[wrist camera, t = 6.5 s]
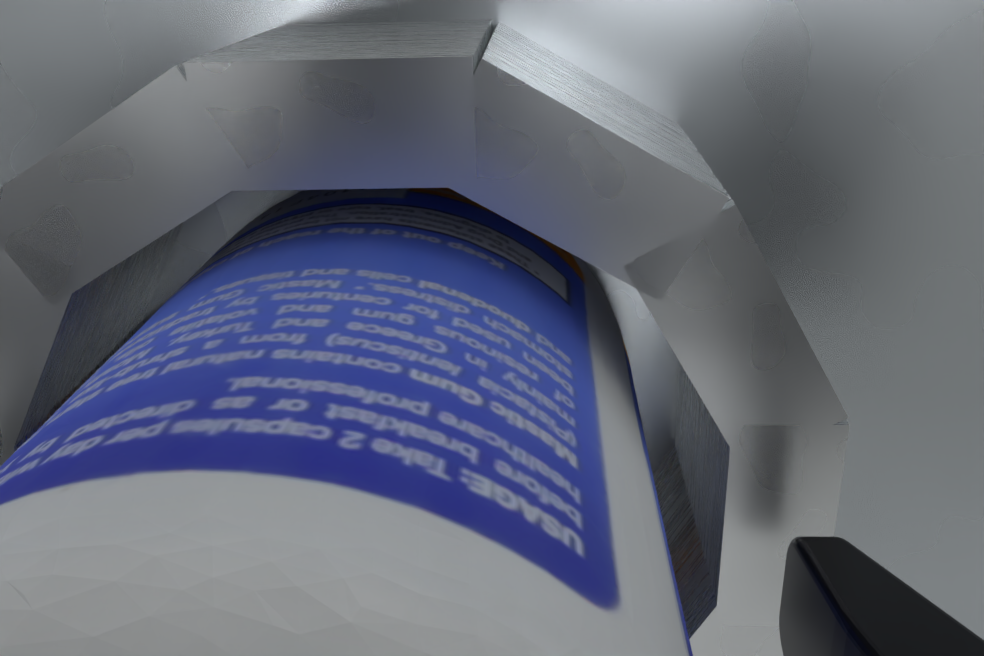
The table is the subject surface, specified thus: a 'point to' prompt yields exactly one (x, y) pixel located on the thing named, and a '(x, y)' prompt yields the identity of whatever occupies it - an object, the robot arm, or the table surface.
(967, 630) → the robot arm
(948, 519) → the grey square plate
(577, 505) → the pill bottle
